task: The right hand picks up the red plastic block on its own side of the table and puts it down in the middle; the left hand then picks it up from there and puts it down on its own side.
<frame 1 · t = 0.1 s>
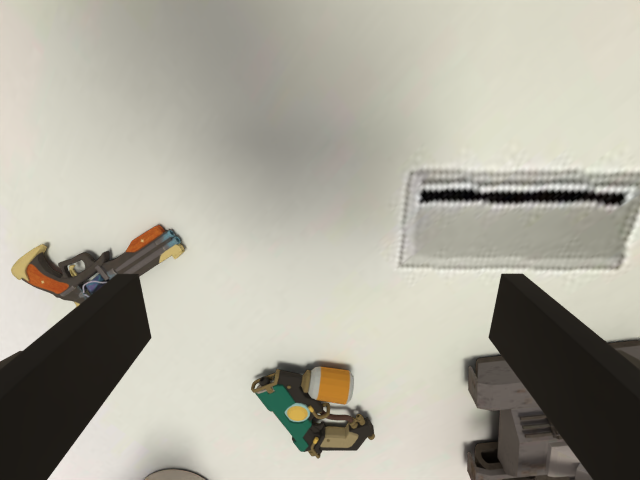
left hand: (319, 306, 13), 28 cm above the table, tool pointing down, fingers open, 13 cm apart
toy gun: (103, 255, 43), on the table
spray gun: (315, 402, 51), on the table
toy: (550, 402, 51), on the table
bust sculpture: (173, 478, 56), on the table
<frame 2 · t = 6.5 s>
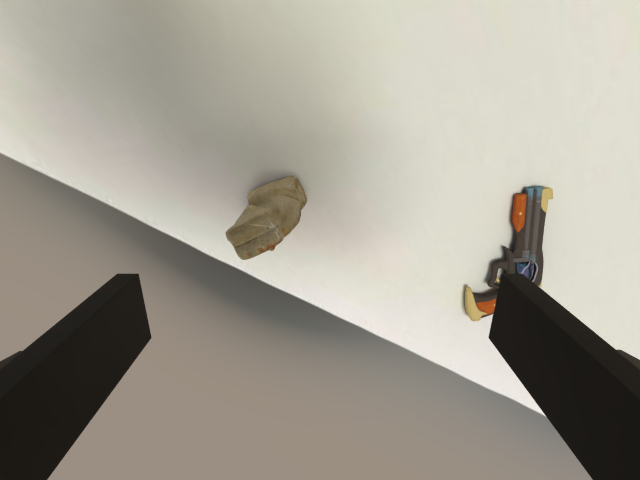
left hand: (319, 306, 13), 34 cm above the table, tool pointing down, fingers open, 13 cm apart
toy gun: (501, 254, 49), on the table
sculpture: (279, 195, 46), on the table
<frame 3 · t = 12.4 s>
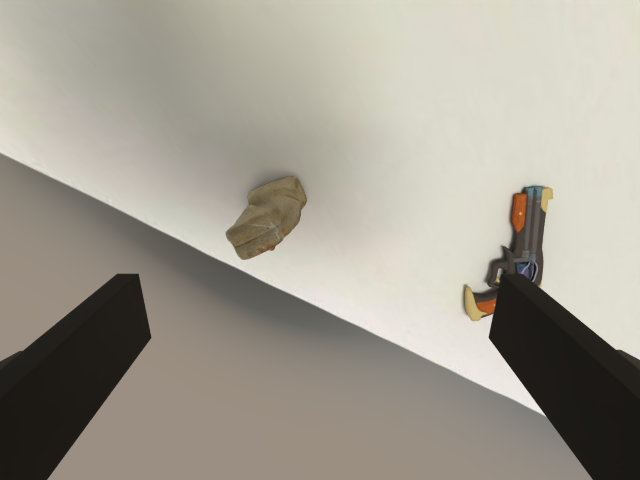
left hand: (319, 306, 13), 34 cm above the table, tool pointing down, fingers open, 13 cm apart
toy gun: (501, 254, 49), on the table
sculpture: (279, 195, 46), on the table
when the right hand's fingers open (2 cm above the table, at t = 18.7 s): block drops 1 cm, on the table.
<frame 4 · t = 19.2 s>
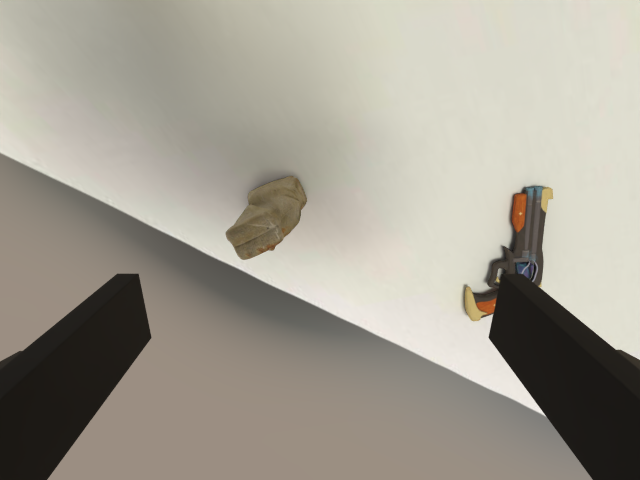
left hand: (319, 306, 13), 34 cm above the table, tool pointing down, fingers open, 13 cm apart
toy gun: (501, 254, 49), on the table
sculpture: (279, 195, 46), on the table
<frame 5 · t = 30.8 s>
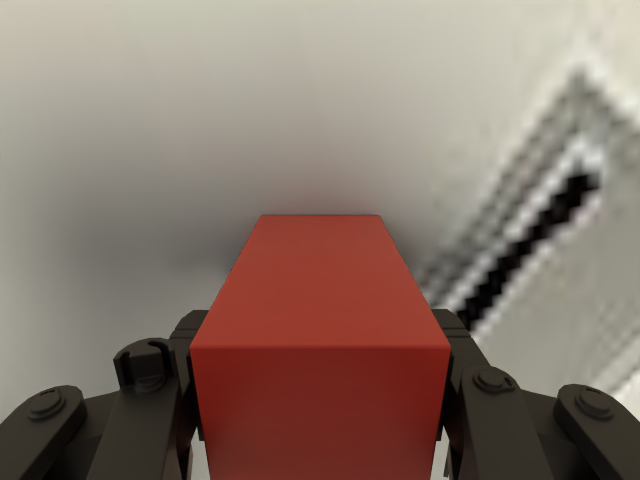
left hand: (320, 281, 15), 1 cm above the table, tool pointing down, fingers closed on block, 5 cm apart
block: (319, 273, 15), on the table, touching left hand
when the left hand's fingers open (2 cm above the table, at t = 39.3 s): block drops 2 cm, on the table.
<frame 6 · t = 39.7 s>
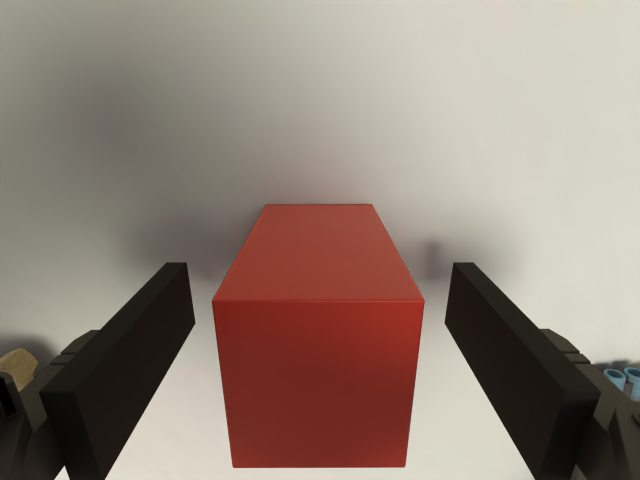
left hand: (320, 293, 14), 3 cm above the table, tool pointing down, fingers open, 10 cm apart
sculpture: (15, 379, 19), on the table
block: (319, 258, 17), on the table
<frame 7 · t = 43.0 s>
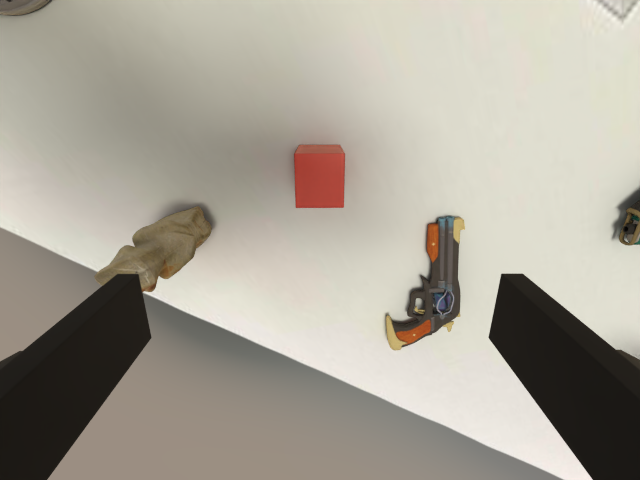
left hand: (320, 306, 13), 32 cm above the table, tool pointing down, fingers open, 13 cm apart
toy gun: (420, 283, 48), on the table
sculpture: (188, 225, 45), on the table
block: (319, 167, 43), on the table
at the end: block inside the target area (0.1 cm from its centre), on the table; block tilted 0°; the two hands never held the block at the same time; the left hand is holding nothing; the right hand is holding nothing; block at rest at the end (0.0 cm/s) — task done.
